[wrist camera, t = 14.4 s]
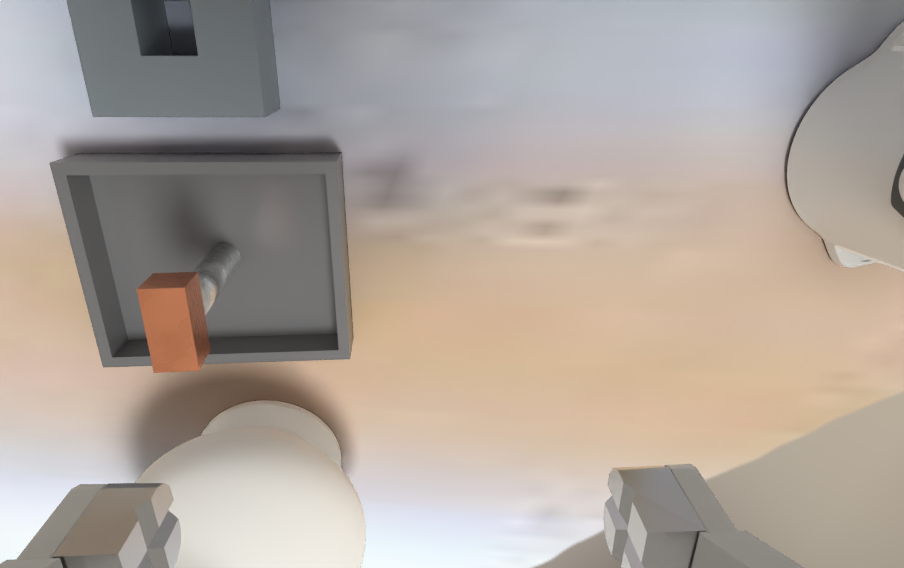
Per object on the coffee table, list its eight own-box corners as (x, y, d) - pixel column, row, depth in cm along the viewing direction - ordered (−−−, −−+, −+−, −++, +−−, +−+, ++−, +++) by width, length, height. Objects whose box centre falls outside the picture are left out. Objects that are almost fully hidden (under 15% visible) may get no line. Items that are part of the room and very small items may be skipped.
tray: (341, 152, 41) (336, 161, 37) (353, 337, 46) (350, 359, 43) (78, 153, 39) (49, 162, 36) (124, 344, 45) (103, 367, 42)
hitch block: (263, -59, 35) (243, -74, 31) (280, 108, 39) (264, 117, 34) (95, -63, 34) (48, -80, 30) (129, 108, 38) (92, 116, 34)
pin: (238, 223, 41) (184, 287, 30) (246, 287, 43) (199, 370, 32) (203, 224, 41) (136, 289, 29) (213, 288, 43) (153, 372, 31)
